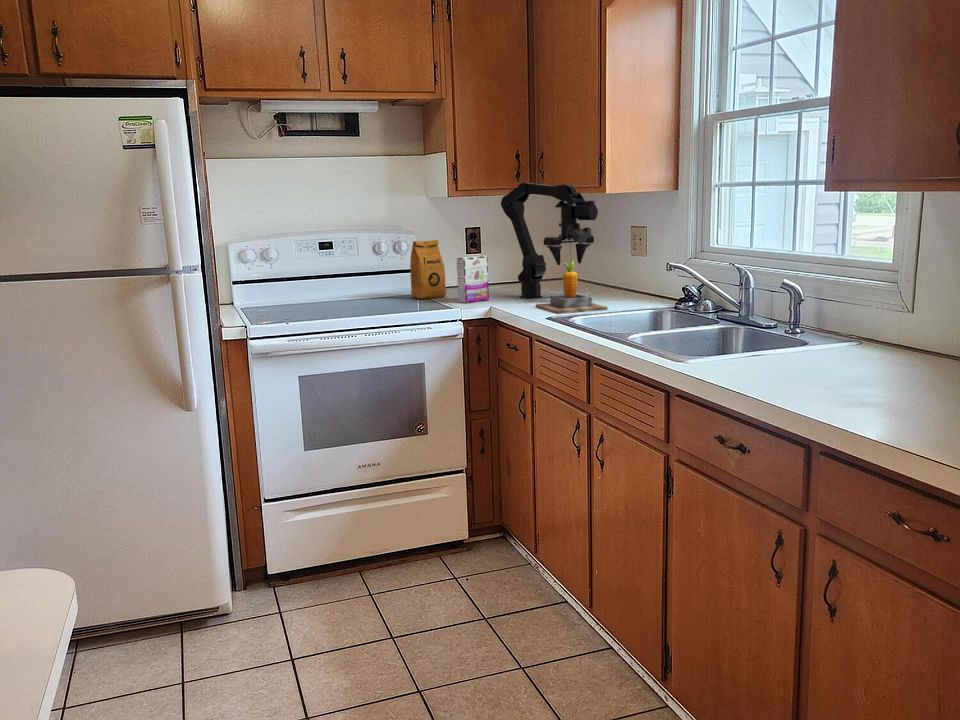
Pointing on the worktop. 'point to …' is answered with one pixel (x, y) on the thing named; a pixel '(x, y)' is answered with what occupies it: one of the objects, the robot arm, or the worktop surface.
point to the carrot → (570, 281)
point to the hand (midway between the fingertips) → (569, 264)
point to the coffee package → (427, 270)
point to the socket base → (570, 304)
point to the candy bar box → (472, 279)
